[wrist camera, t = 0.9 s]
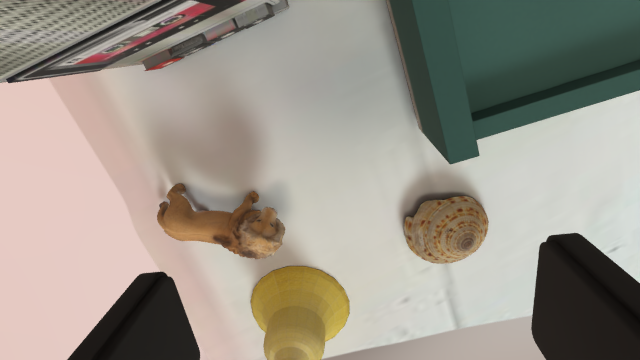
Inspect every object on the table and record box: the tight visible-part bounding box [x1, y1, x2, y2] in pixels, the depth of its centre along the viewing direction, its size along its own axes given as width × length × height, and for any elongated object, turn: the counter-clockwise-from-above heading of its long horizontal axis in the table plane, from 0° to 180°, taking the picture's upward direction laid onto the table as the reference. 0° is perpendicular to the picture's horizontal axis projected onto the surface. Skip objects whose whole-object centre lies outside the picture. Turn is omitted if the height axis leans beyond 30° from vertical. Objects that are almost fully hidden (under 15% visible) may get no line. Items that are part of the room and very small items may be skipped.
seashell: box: [404, 196, 488, 264], centre depth 37 cm, size 8×6×8 cm
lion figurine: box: [157, 184, 285, 259], centre depth 34 cm, size 15×5×9 cm, turn 93°
